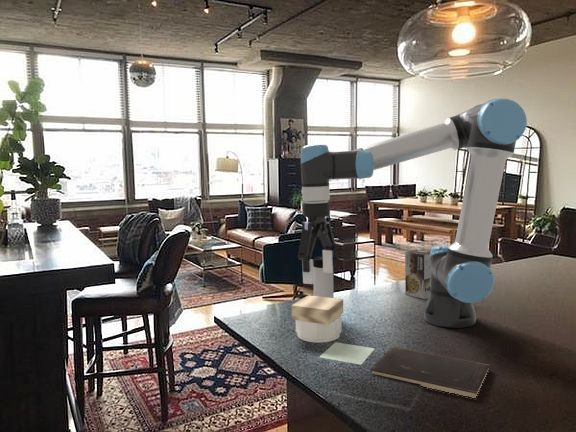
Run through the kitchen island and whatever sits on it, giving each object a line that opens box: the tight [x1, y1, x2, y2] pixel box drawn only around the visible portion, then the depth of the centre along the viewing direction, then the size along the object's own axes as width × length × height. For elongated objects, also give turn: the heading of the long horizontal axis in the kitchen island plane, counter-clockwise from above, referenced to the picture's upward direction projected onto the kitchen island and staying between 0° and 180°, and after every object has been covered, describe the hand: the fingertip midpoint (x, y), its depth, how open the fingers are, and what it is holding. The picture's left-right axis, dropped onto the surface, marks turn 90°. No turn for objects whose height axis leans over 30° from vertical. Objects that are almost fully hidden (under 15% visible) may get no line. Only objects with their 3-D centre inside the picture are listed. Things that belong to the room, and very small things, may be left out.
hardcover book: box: [369, 346, 491, 399], centre depth 110 cm, size 16×23×2 cm
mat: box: [319, 341, 376, 366], centre depth 122 cm, size 11×11×1 cm
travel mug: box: [312, 254, 335, 298], centre depth 150 cm, size 6×7×20 cm
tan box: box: [290, 295, 344, 325], centre depth 134 cm, size 11×11×4 cm
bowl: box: [295, 314, 342, 344], centre depth 135 cm, size 12×12×6 cm
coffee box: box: [404, 249, 430, 300], centre depth 173 cm, size 9×6×16 cm
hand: (318, 277), depth 133 cm, fingers open, 13 cm apart
